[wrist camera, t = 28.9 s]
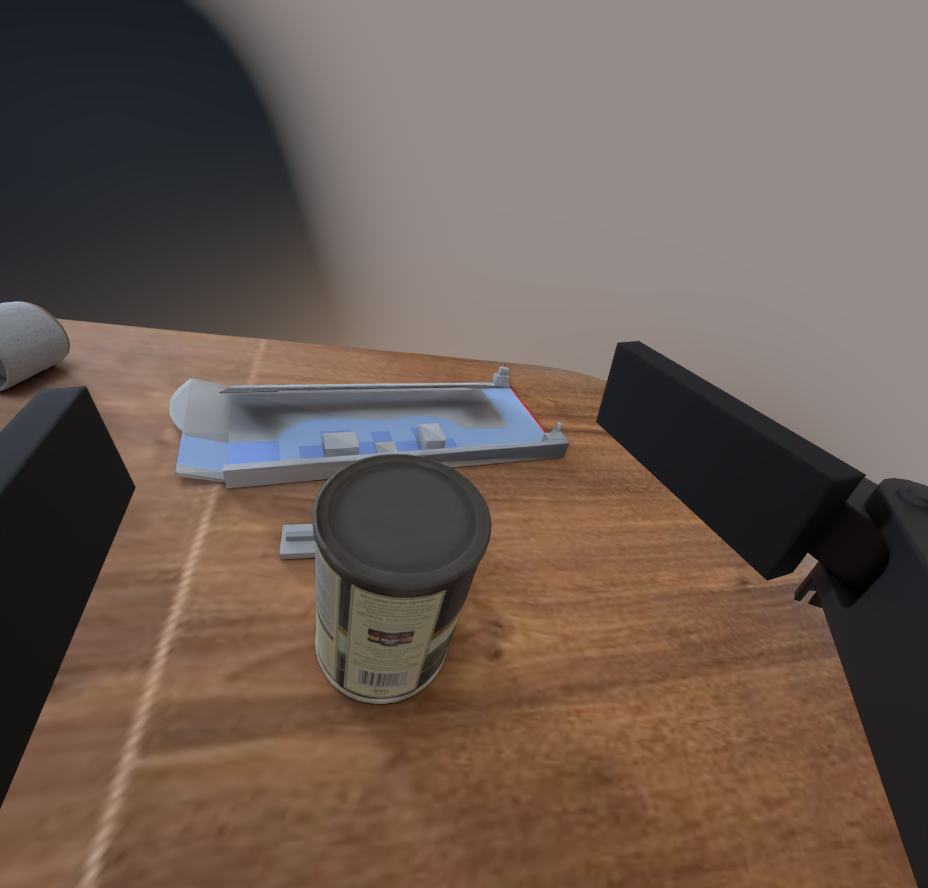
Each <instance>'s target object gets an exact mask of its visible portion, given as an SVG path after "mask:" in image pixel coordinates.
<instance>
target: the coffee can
mask: <svg viewBox="0 0 928 888" xmlns="http://www.w3.org/2000/svg"><path fill="white" fill-rule="evenodd" d="M312 524H313V534H314V538H315V562H316V636H315V648H316V654H317V659H318V663H319V665H320V667H321V669H322V671H323V673H324V675H325V676H326V678H327V679H328V680H329V682H330V683H331V684H332V685H333V686H334V687H335V688H336V689H338V690H339V691H340V692H342V693H343V694H345V695H346V696H348V697H350V698H353V699H354V700H357V701H361V702H366V703H372V704H386V703H393V702H397V701H401V700H404V699H406V698H409V697H411V696H413V695H415V694H417V693H418V692H419V691H421V690H422V689H424V688H425V687H426V686H427V685H428V684H429V683H430V682H431V681H432V680H433V679H434V678H435V676H436V675H437V674H438V672H439V670H440V669H441V667H442V665H443V663H444V660H445V658H446V656H447V651H448V646H449V643H450V640H451V638H452V635H453V632H454V629H455V627H456V624H457V621H458V618H459V616H460V613H461V610H462V607H463V604H464V602H465V599H466V596H467V594H468V591H469V588H470V585H471V583H472V580H473V577H474V574H475V571H476V569H477V566H478V564H479V562H480V561H481V559H482V557H483V555H484V553H485V551H486V549H487V546H488V543H489V540H490V535H491V517H490V513H489V509H488V507H487V504H486V502H485V501H484V499H483V497H482V495H481V494H480V493H479V491H478V490H477V489H476V487H475V486H474V485H473V484H472V483H471V482H470V481H469V480H468V479H467V478H465V477H464V476H463V475H461V474H460V473H459V472H457V471H456V470H454V469H452V468H450V467H448V466H446V465H444V464H442V463H440V462H437V461H435V460H431V459H428V458H424V457H420V456H415V455H408V454H385V455H376V456H371V457H367V458H364V459H360V460H357V461H355V462H353V463H350V464H348V465H346V466H345V467H343V468H341V469H340V470H338V471H337V472H336V473H334V474H333V475H332V476H331V477H330V478H329V479H328V480H327V481H326V482H325V483H324V485H323V486H322V487H321V489H320V491H319V493H318V495H317V496H316V499H315V502H314V505H313V510H312Z"/></svg>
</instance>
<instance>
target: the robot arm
mask: <svg viewBox="0 0 928 888" xmlns="http://www.w3.org/2000/svg"><path fill="white" fill-rule="evenodd" d="M596 422H597V423H598V424H599V425H600V426H601V427H602V428H603V429H604V430H606V431H607V432H608V433H609V434H610V435H611V436H612V437H613V438H614V439H615V440H616V441H617V442H618V443H620V444H621V445H622V446H623V447H624V448H625V449H626V450H627V451H628V452H629V453H630V454H631V455H632V456H634V457H635V458H636V459H637V460H638V461H639V462H640V463H641V464H642V465H643V466H644V467H645V468H646V469H647V470H649V471H650V472H651V473H652V474H653V475H654V476H655V477H656V478H657V479H658V480H659V481H660V482H661V483H663V484H664V485H665V486H666V487H667V488H668V489H669V490H670V491H671V492H672V493H673V494H674V495H675V496H677V497H678V498H679V499H680V500H681V501H682V502H683V503H684V504H685V505H686V506H687V507H688V508H689V509H691V510H692V511H693V512H694V513H695V514H696V515H697V516H698V517H699V518H700V519H701V520H702V521H703V522H704V523H706V524H707V525H708V526H709V527H710V528H711V529H712V530H713V531H714V532H715V533H716V534H717V535H718V536H720V537H721V538H722V539H723V540H724V541H725V542H726V543H727V544H728V545H729V546H730V547H731V548H732V549H734V550H735V551H736V552H737V553H738V554H739V555H740V556H741V557H742V558H743V559H744V560H745V561H746V562H748V563H749V564H750V565H751V566H752V567H753V568H754V569H755V570H756V571H757V572H758V573H759V574H760V575H762V576H763V577H764V578H765V579H766V580H770V579H774V578H777V577H780V576H783V575H787V574H790V573H793V572H794V570H795V569H796V568H797V566H798V565H799V564H800V562H801V561H802V560H803V558H804V557H805V556H806V554H807V553H809V554H810V555H812V556H813V557H814V558H815V559H817V560H818V561H819V562H818V563H817V564H816V565H815V567H814V568H813V569H812V570H811V572H810V573H809V574H808V576H807V577H806V578H805V579H804V581H803V582H802V583H801V585H800V586H799V587H798V588H797V590H796V591H795V600H798V601H801V600H802V599H803V597H804V596H805V595H806V594H807V592H808V591H816V593H815V594H814V595H813V596H812V598H811V599H810V601H809V602H808V603H809V604H811V605H814V606H817V607H820V608H823V611H824V614H825V617H826V619H827V622H828V625H829V628H830V631H831V634H832V637H833V640H834V643H835V646H836V649H837V652H838V655H839V658H840V660H841V663H842V666H843V669H844V672H845V675H846V678H847V681H848V684H849V687H850V690H851V693H852V696H853V699H854V701H855V704H856V707H857V710H858V713H859V716H860V719H861V722H862V725H863V728H864V731H865V734H866V737H867V740H868V742H869V745H870V748H871V751H872V754H873V757H874V760H875V763H876V766H877V769H878V772H879V775H880V778H881V781H882V784H883V786H884V789H885V792H886V795H887V798H888V801H889V804H890V807H891V810H892V813H893V816H894V819H895V822H896V825H897V827H898V830H899V833H900V836H901V839H902V842H903V845H904V848H905V851H906V854H907V857H908V860H909V863H910V866H911V868H912V871H913V874H914V877H915V880H916V883H917V886H918V888H928V486H925V485H922V484H919V483H916V482H913V481H910V480H904V479H897V478H890V479H884V480H883V481H882V482H881V483H880V484H879V485H877V484H875V483H873V482H872V481H870V480H868V479H867V478H865V476H866V475H865V474H864V473H862V472H860V471H858V470H857V469H855V468H853V467H852V466H850V465H848V464H847V463H845V462H843V461H842V460H840V459H838V458H836V457H835V456H833V455H831V454H830V453H828V452H826V451H825V450H823V449H821V448H820V447H818V446H816V445H814V444H813V443H811V442H809V441H808V440H806V439H804V438H803V437H801V436H799V435H797V434H796V433H794V432H792V431H791V430H789V429H787V428H786V427H784V426H782V425H780V424H779V423H777V422H775V421H774V420H772V419H770V418H769V417H767V416H765V415H764V414H762V413H760V412H758V411H757V410H755V409H753V408H752V407H750V406H748V405H747V404H745V403H743V402H741V401H740V400H738V399H736V398H735V397H733V396H731V395H730V394H728V393H726V392H724V391H723V390H721V389H719V388H718V387H716V386H714V385H713V384H711V383H709V382H708V381H706V380H704V379H702V378H701V377H699V376H697V375H695V374H694V373H692V372H691V371H689V370H687V369H685V368H684V367H682V366H680V365H679V364H677V363H675V362H674V361H672V360H670V359H668V358H667V357H665V356H663V355H662V354H660V353H658V352H656V351H655V350H653V349H651V348H650V347H648V346H646V345H645V344H643V343H641V342H640V341H634V342H621V343H617V347H616V350H615V354H614V358H613V362H612V365H611V369H610V372H609V376H608V380H607V383H606V387H605V391H604V394H603V398H602V402H601V406H600V409H599V413H598V417H597V420H596ZM135 488H136V487H135V485H134V483H133V481H132V479H131V477H130V475H129V473H128V471H127V469H126V467H125V465H124V463H123V461H122V459H121V457H120V455H119V453H118V451H117V449H116V446H115V444H114V442H113V440H112V438H111V436H110V434H109V432H108V430H107V428H106V426H105V424H104V422H103V420H102V418H101V416H100V414H99V412H98V410H97V408H96V406H95V404H94V402H93V400H92V398H91V396H90V393H89V391H88V389H87V387H86V386H81V387H69V388H57V389H44V390H40V391H39V392H38V393H37V394H36V395H35V396H34V397H33V398H32V399H31V400H30V401H29V402H28V403H27V405H26V406H25V407H24V408H23V409H22V410H21V411H20V412H19V413H18V414H17V415H16V416H15V417H14V418H13V419H12V420H11V421H10V422H9V423H8V425H7V426H6V427H5V428H4V429H3V430H2V431H1V432H0V808H1V806H2V803H3V801H4V799H5V796H6V794H7V792H8V789H9V787H10V784H11V782H12V780H13V777H14V775H15V773H16V770H17V768H18V765H19V763H20V761H21V758H22V756H23V754H24V751H25V749H26V746H27V744H28V742H29V739H30V737H31V735H32V732H33V730H34V727H35V725H36V723H37V720H38V718H39V716H40V713H41V711H42V708H43V706H44V704H45V701H46V699H47V697H48V694H49V692H50V689H51V687H52V685H53V682H54V680H55V678H56V675H57V673H58V670H59V668H60V666H61V663H62V661H63V659H64V656H65V654H66V651H67V649H68V647H69V644H70V642H71V640H72V637H73V635H74V632H75V630H76V628H77V625H78V623H79V621H80V618H81V616H82V613H83V611H84V609H85V606H86V604H87V602H88V599H89V597H90V594H91V592H92V590H93V587H94V585H95V583H96V580H97V578H98V575H99V573H100V571H101V568H102V566H103V564H104V561H105V559H106V556H107V554H108V552H109V549H110V547H111V545H112V542H113V540H114V537H115V535H116V533H117V530H118V528H119V526H120V523H121V521H122V518H123V516H124V514H125V511H126V509H127V507H128V504H129V502H130V499H131V497H132V495H133V492H134V490H135Z"/></svg>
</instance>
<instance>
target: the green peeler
mask: <svg viewBox="0 0 928 888" xmlns="http://www.w3.org/2000/svg"><path fill="white" fill-rule="evenodd" d="M298 558H315V538H314V534H313V524H297V525H283V529H282V538H281V547H280V559H298Z"/></svg>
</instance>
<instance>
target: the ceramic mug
mask: <svg viewBox="0 0 928 888" xmlns="http://www.w3.org/2000/svg"><path fill="white" fill-rule="evenodd" d="M69 348H70V343H69V338H68V336H67V333H66V331H65V330H64V328H63V327H62V325H61V324H60V323H59V322H58V321H57V320H56V319H55V318H54V317H53V316H52V315H51V314H49V313H48V312H47V311H45V310H44V309H42V308H40V307H38V306H36V305H33V304H31V303H26V302H6V303H1V304H0V391H3V390H5V389H7V388H9V387H11V386H13V385H15V384H17V383H19V382H21V381H23V380H25V379H28V378H30V377H31V376H33V375H35V374H37V373H39V372H41V371H43V370H45V369H47V368H49V367H51V366H53V365H55V364H57V363H58V362H60V361H61V360H63V359H64V358H65V357H66V356H67V354H68V352H69Z"/></svg>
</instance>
